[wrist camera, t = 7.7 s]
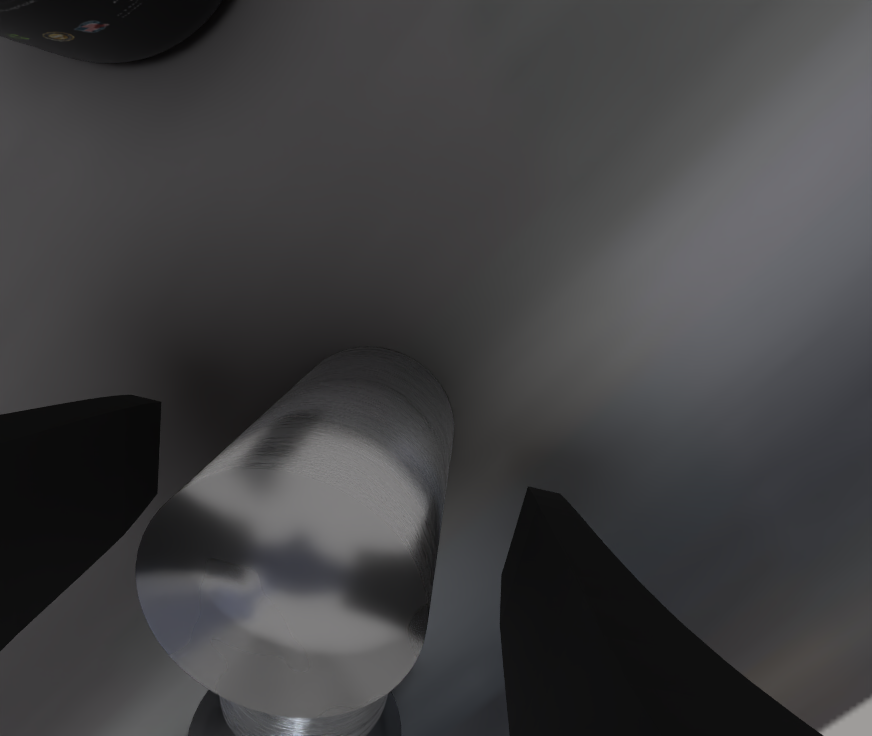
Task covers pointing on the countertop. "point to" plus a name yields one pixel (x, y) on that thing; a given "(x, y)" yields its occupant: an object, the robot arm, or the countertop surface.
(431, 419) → the elbow
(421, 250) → the countertop surface
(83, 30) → the supplement bottle
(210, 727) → the duct stub
